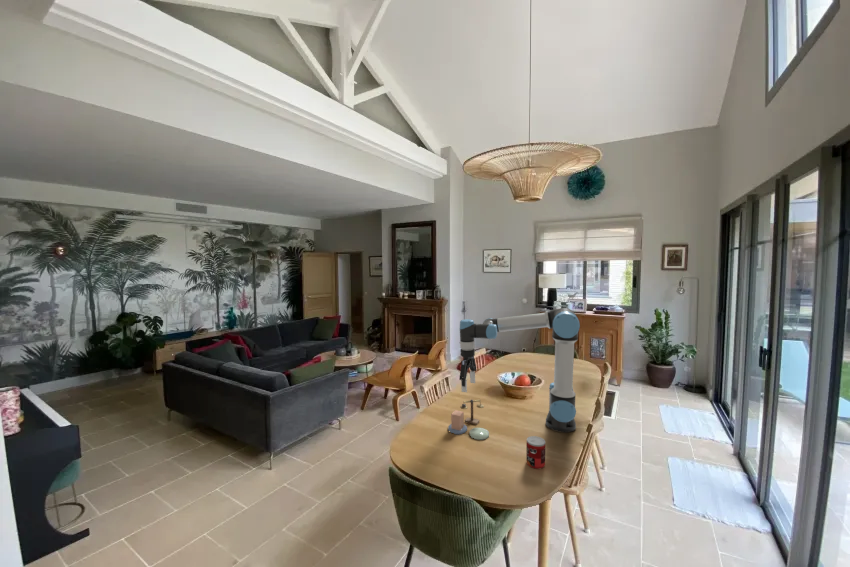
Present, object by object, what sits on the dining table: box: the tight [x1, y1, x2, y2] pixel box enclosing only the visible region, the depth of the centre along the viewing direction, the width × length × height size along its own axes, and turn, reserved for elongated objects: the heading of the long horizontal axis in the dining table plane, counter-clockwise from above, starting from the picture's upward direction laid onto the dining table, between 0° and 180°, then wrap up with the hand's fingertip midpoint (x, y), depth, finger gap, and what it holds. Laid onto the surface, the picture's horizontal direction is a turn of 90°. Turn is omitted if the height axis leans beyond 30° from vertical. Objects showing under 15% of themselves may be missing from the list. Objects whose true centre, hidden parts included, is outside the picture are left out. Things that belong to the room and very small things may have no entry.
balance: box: [459, 399, 485, 426], centre depth 195 cm, size 14×4×14 cm, turn 62°
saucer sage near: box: [468, 427, 490, 441], centre depth 182 cm, size 10×10×1 cm
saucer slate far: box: [447, 423, 468, 435], centre depth 188 cm, size 10×10×1 cm
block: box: [450, 409, 465, 430], centre depth 187 cm, size 5×5×8 cm
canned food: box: [525, 435, 546, 470], centre depth 156 cm, size 8×8×11 cm
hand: (468, 387), depth 190 cm, fingers open, 13 cm apart
